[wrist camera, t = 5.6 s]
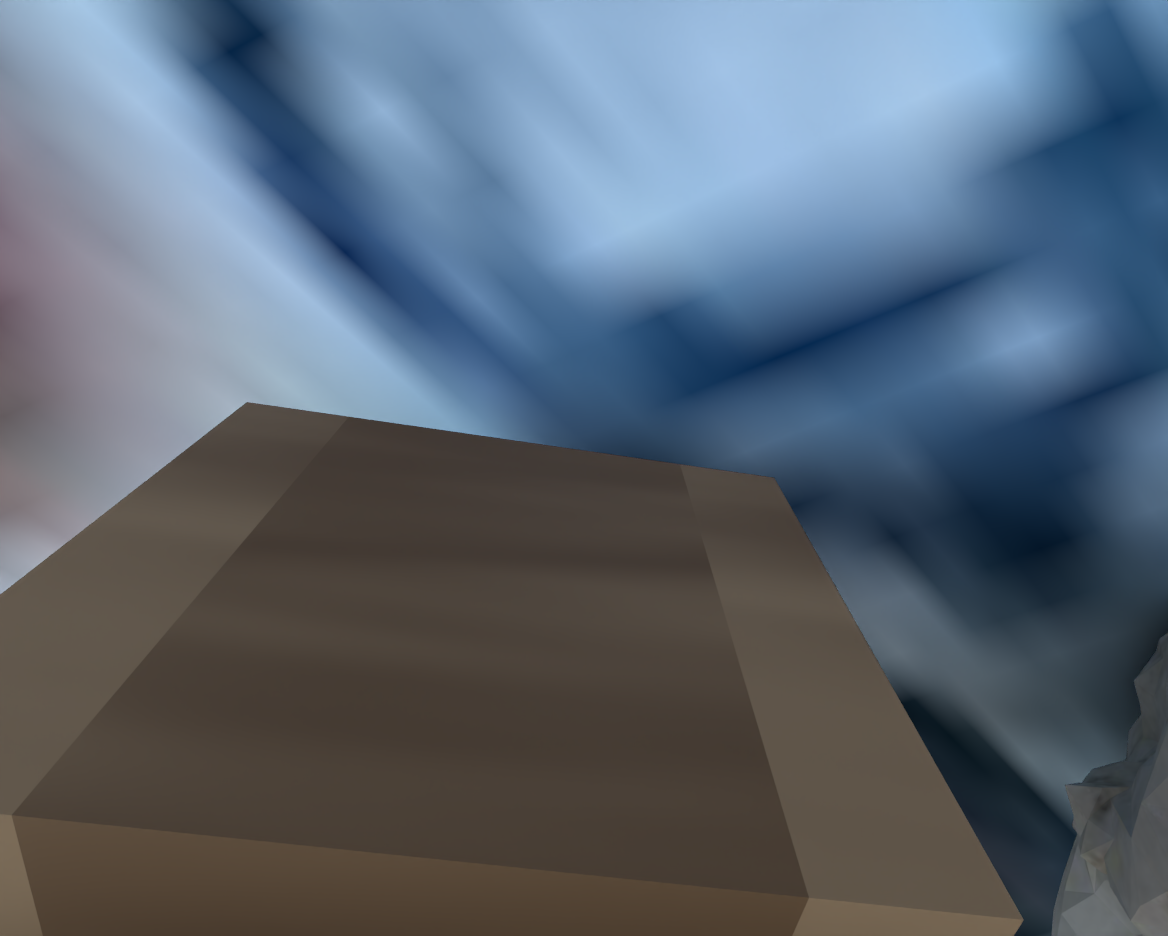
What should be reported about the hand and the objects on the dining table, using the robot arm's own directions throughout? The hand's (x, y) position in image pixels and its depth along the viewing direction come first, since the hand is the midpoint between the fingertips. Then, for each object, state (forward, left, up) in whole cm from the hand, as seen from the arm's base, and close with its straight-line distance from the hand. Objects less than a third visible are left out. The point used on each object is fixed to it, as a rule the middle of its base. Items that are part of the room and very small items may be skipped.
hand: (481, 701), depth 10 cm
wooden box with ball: (0, 0, -1) cm, 1 cm away
